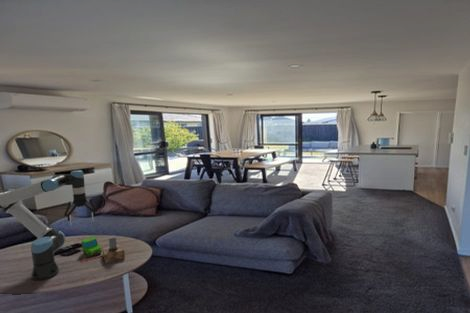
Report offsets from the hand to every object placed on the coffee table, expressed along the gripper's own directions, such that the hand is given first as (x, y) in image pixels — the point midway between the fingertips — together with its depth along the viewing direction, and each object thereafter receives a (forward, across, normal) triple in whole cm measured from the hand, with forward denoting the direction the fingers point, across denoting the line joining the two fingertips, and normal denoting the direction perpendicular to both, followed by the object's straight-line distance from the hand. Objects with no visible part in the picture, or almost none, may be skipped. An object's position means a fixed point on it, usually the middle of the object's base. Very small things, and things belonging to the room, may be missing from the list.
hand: (82, 223), depth 203 cm
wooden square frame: (+29, +18, -2) cm, 34 cm away
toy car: (+29, +5, +14) cm, 33 cm away
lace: (+29, +5, +5) cm, 30 cm away
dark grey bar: (+29, +18, -2) cm, 34 cm away
